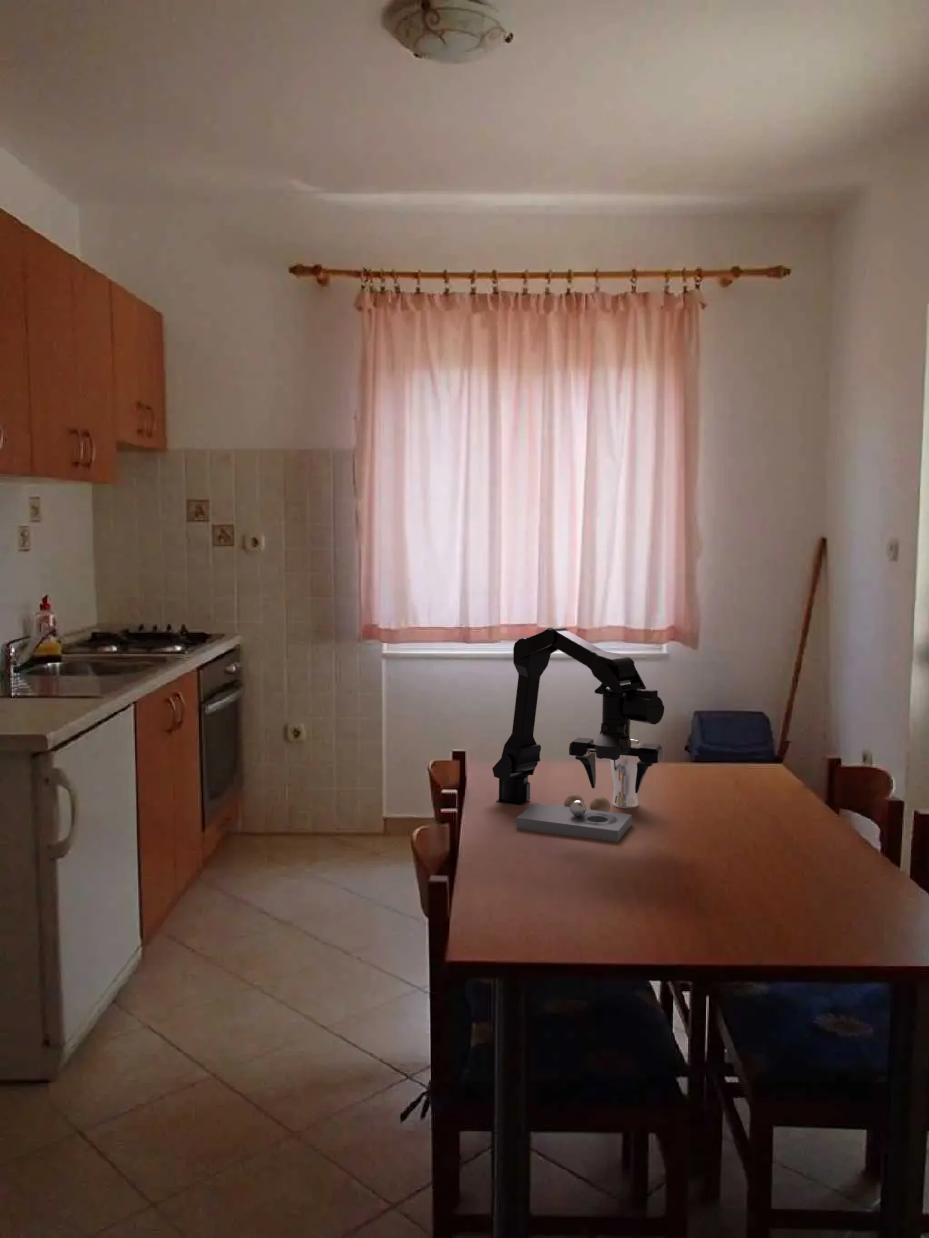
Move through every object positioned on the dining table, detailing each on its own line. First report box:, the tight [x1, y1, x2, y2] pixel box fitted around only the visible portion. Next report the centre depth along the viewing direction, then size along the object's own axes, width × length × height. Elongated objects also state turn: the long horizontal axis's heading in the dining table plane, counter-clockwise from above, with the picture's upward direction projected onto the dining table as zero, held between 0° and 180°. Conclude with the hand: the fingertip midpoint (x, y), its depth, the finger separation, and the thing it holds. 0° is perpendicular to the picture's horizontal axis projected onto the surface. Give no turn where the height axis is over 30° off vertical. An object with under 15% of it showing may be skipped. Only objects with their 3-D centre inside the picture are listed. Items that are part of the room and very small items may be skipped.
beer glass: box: [610, 738, 642, 809], centre depth 216 cm, size 7×7×15 cm
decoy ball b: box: [589, 795, 611, 812], centre depth 208 cm, size 4×4×4 cm
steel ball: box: [570, 800, 587, 817], centre depth 200 cm, size 4×4×4 cm
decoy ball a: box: [563, 792, 585, 807], centre depth 210 cm, size 4×4×4 cm
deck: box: [515, 802, 633, 843], centre depth 200 cm, size 22×12×2 cm, turn 67°
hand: (614, 790), depth 196 cm, fingers open, 9 cm apart
